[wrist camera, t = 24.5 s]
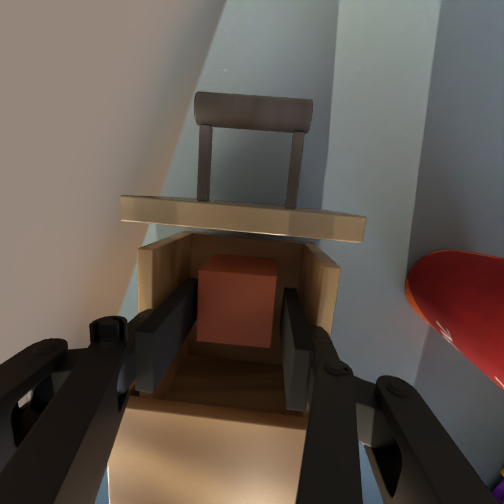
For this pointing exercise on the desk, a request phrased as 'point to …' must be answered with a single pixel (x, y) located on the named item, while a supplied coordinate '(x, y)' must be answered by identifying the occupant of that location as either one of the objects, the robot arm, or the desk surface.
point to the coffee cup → (463, 304)
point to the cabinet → (204, 454)
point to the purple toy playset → (499, 490)
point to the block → (236, 300)
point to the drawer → (207, 244)
